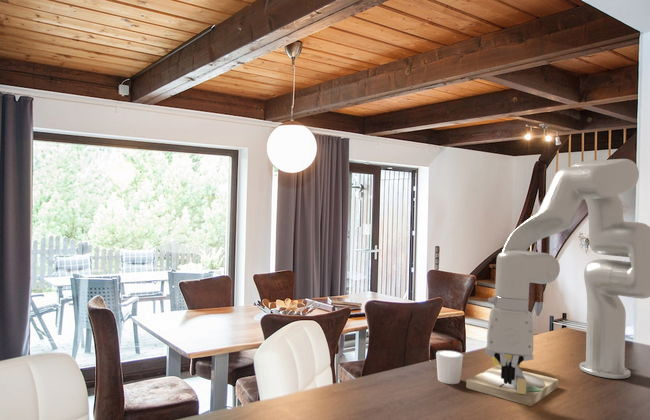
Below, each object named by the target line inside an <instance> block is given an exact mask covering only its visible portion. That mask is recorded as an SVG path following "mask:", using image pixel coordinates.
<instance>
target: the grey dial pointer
mask: <svg viewBox="0 0 650 420" xmlns="http://www.w3.org/2000/svg"><path fill="white" fill-rule="evenodd" d="M506 361H507V365H509V362H511V359H506ZM522 371H523V370H522V369H521V368H520V366H519V367H515V380H512V383H513V385H514V387H515V389H516V391H517V393H519V394H526V379H525V377H524V376H523V374H522Z"/></svg>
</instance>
